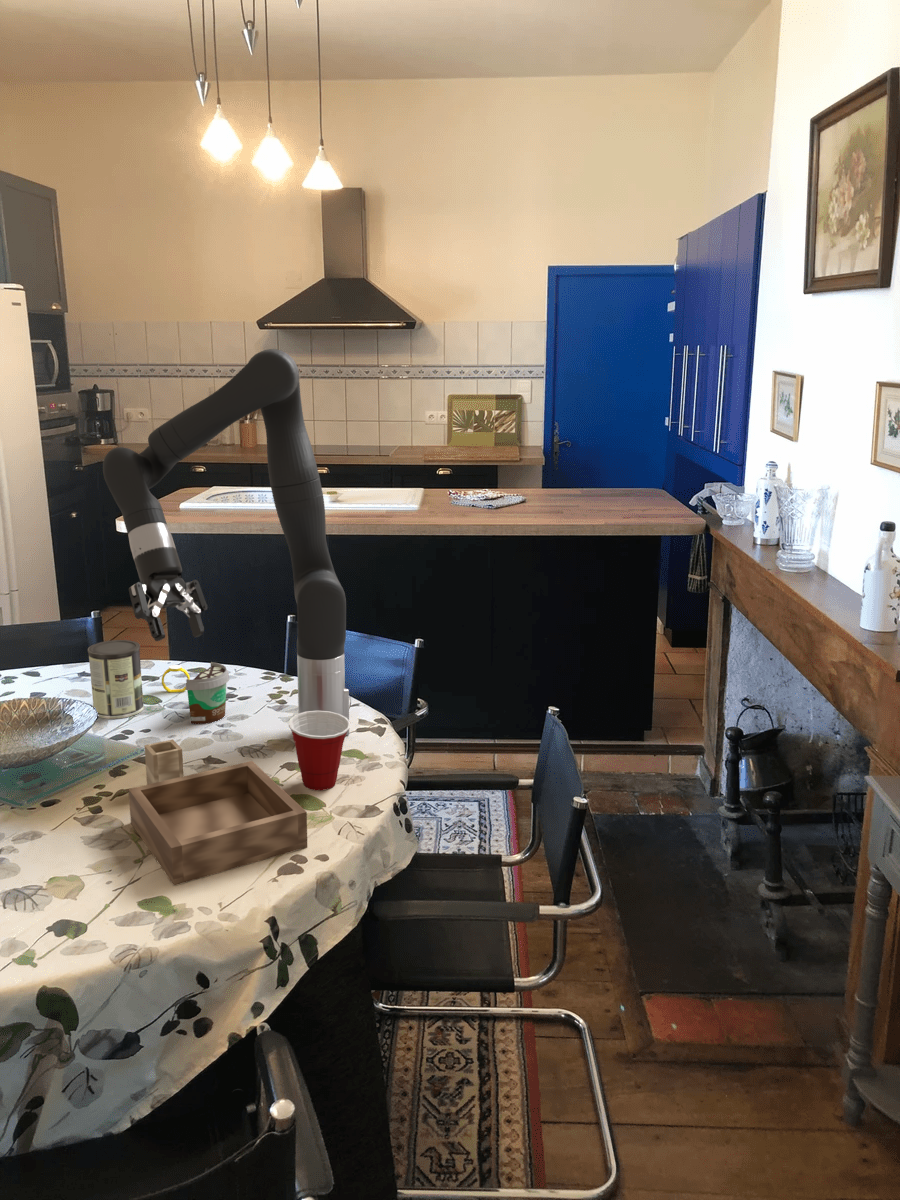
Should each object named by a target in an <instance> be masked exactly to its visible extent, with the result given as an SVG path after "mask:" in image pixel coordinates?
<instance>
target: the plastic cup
mask: <svg viewBox="0 0 900 1200" xmlns="http://www.w3.org/2000/svg"><path fill="white" fill-rule="evenodd" d="M351 725H352V724H351V722H350V719H349V720H348V719H347V718H346V717H344V716H342V715H340V714H337V713H333V712H329V711H307V712H303V713H299V714H298V713H296V714H295V715H293V716H292V717H290V719H289V721H288V727H289V728H290V731H291V734H292V739H293V742H294V746H295V751H296V759H297V762H298V763H297V764H298V767H299V771H300V775H301V780H302V782H303V783H302V784H303V786H304V788H307V789H308V790H311V791H325V790H330V789H332V788H333V787H334V786H336V784H337V780H338V774H339V773H338V772H339V768H340V764H341V757H342V752H343V746H344V742H345V739H346V736H347V735H346V733H347V732H348V730H349V731H350V728H351Z"/></svg>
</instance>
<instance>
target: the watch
mask: <svg viewBox="0 0 900 1200" xmlns="http://www.w3.org/2000/svg"><path fill="white" fill-rule="evenodd" d="M170 672H174V673H175V672H182V673H183V674H184V675H185V676H186V679H189V680H191V677H190V674H189V673H188V672H187V670H186V669H185V668H183V666H182V665H180V664H172V665H169V667H168V669H166V670H165V671H164V672H163V674H162V676H161V686H162V687H163V689H164V690H165V691H166V692H168V693H169V694H173V693H184V692H186V691H187V690H186V685H185V686H184V687H183V688H179V689H178V688H177V689H174V688H173V689H171V688H169V687H168V686H167V685H166V683H165V677H166V675H167V674H168V673H170Z"/></svg>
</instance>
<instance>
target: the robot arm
mask: <svg viewBox="0 0 900 1200" xmlns="http://www.w3.org/2000/svg"><path fill="white" fill-rule="evenodd" d="M300 386H301V384H300V371H299V368H298V365H297V363H296V361H295V359H294V358H293V357H292V356H291V355H290V354H288V353H287V352H285V351H283V350H281V349H277V348H267V349H264V350H262V351H259V352H257V353H255V354H254V355H253V356H252V357H251V358H250V359H249V361H248V362H247V364H245V366H243V367H242V368H241V369H240V370H239V371H238V372H237V373H236V374H235V375H234V376H233V377H232V378H231V379H229V381H227V382H226V383H225V384H224V385H222V386H221V387H219V388H218V389H217V390H215V391H214V392H213V393H212V394H210V395H209V396H206V398H203V399H201V400H200V401H198V402H196V403H195V404H193V405H191V406H190V407H188V408H186V409H184V410H183V411H181V412H179V413H177V414H176V415H175V416H173V417H172V418H170V419H169V420H167V421H166V422H164V423H163V424H161V425H160V426H159V427H157V428H155V429H154V430H153V431H152V432H151V433H150V434H149V435H148V437H147V440H148V441H147V442H148V446H146V448H145V449H144V450H143V451H141V452H139V453H138V452H136V451H134V450H133V449H131V448H128V447H124V446H123V447H122V446H119V447H115V448H113V449H111V450H109V451H108V452H106V453H107V454H106V455H105V456H104V458H103V461H102V462H103V463H102V473H103V478H104V481H105V483H106V485H107V488H108V490H109V492H110V493H111V495H112V497H113V500H114V502H115V503H116V505H117V507H118V508H119V510H120V511H121V515H122V520H123V522H124V526H125V529H126V533H127V535H128V541H129V547H130V552H131V554H132V558H133V561H134V564H135V569H136V570H137V574H138V578H139V581H138V582H136V583H134V584H133V585H131V586H130V587H129V588H128V592H129V597H130V601H131V605H132V609H133V615H134V617H135V619H138V620H140V619H142V620H145V621H146V622H147V625H148V628H149V632H150V636H151V637H152V638H153V639H154V641H155V642H160V641H162V640H164V639H166V633H165V630H164V629H165V628H164V626H163V623H162V620H161V617H159V616H160V612H161V609H164V608H167V607H168V608H176V609H177V610H179V611H180V612H183V613H184V614H185V615H186V616H187V617H188V619H187V621H188V623H189V626H190V627H189V628H190V630H191V633H192V634H191V635H192V636H193V638H199V637H201V636H202V635H204V632H205V626H204V624H203V620H202V617H201V616H202V615H201V614H202V613H203V612H204V611H207V610H208V604H207V600H206V599H205V595H204V593H203V591H202V587H201V585H200V582H199V580H197V579H193V580H191V581H188V582H185V580H184V579H183V577H182V574H183V568H182V564H181V561H180V558H179V554H178V552H177V548H176V545H175V542H174V539H173V535H172V532H171V531H170V529H169V527H168V524H167V520H166V517H165V513H164V510H163V507H162V505H161V503H160V501H159V500H158V498H156V497H155V495H153V494H152V493H151V491H150V489H152V488H153V487H155V486H156V485H157V484H158V483H160V482H161V481H162V479H164V477H166V475H167V474H168V473H169V472H171V470H172V469H173V468H174V467H175V466H176V464H177V463H179V462H182V461H183V460H184V459H185V458H187V457H188V456H189V457H190V455H191V454H193V453H195V452H196V451H198V450H199V449H201V447H203V446H205V445H207V443H209V442H211V440H213V439H214V438H216V437H217V436H218V435H219V434H220V433H222V432H223V431H224V430H226V429H227V428H229V427H230V426H232V425H233V424H234V423H236V422H238V421H239V420H241V419H243V418H244V417H246V416H248V415H250V414H252V413H253V412H255V411H258V410H260V412H261V415H262V419H263V424H264V429H265V434H266V435H265V436H266V437H265V438H266V457H267V459H266V460H267V469H268V471H267V472H268V479H269V485H270V489H271V494H272V498H273V502H274V507H275V510H276V514H277V517H278V521H279V523H280V527H281V529H282V531H283V535H284V538H285V540H286V544H287V546H288V549H289V555H290V560H291V561H290V562H291V568H292V576H293V589H294V590H293V591H294V592H293V593H294V598H295V602H296V612H297V613H296V615H297V640H296V656H297V657H296V658H297V661H296V662H297V663H296V665H297V703H298V705H297V706H298V707H297V709H298V712H297V714H299V713H303V712H307V711H329V712H333V713H337V714H340V715H342V716H344V717H346V718H347V719H348V720H349V721H350V691H349V689H348V688H347V687H346V683H345V682H346V681H345V680H346V678H345V677H346V676H345V674H346V673H345V671H346V670H345V668H346V667H345V646H346V645H345V644H346V639H347V637H346V636H347V599H346V593H345V591H344V587H343V586H342V584H341V582H340V581H339V578H338V576H337V574H336V572H335V569H334V565H333V563H332V559H331V555H330V552H329V548H328V543H327V536H326V535H327V533H326V532H327V531H326V529H327V527H326V508H325V499H324V491H323V490H322V489H323V488H322V483H321V477H320V473H319V470H318V465H317V461H316V458H315V453H314V450H313V447H312V444H311V441H310V437H309V435H308V431H307V428H306V424H305V420H304V412H303V406H302V405H303V403H302V397H301V387H300ZM146 596H147V597H148V598H149V600H148V601H147V599H146V598H147V597H146ZM183 601H184V602H183ZM348 735H350V729H349V730H348V732H347V733H346V736H348Z"/></svg>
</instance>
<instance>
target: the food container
mask: <svg viewBox="0 0 900 1200" xmlns="http://www.w3.org/2000/svg"><path fill="white" fill-rule="evenodd" d="M229 681H230V674H229V670H228V669H227V667H226V666H225V665H224V664H221V663H218V662H212V661H211V662H210V667H208V668H207V669H206V670H204V671H201V672H199V673H198V674H197V675H196V676H195V677H194V678H193V679H190V680H189V679H187V678H186V681H185V686H186V690H185V691H187V700H188V708H189V709H188V710H189V718H190V725H206V723H208V724H211V723H212V722H213V723H216V722H219V721H221V720H223V719H224V718H225V717H224V716H226V704H227V703H226V702H227V683H228V682H229ZM223 717H224V718H223ZM222 718H223V719H222ZM220 719H221V720H220ZM218 720H219V721H218ZM215 721H216V722H215Z"/></svg>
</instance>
